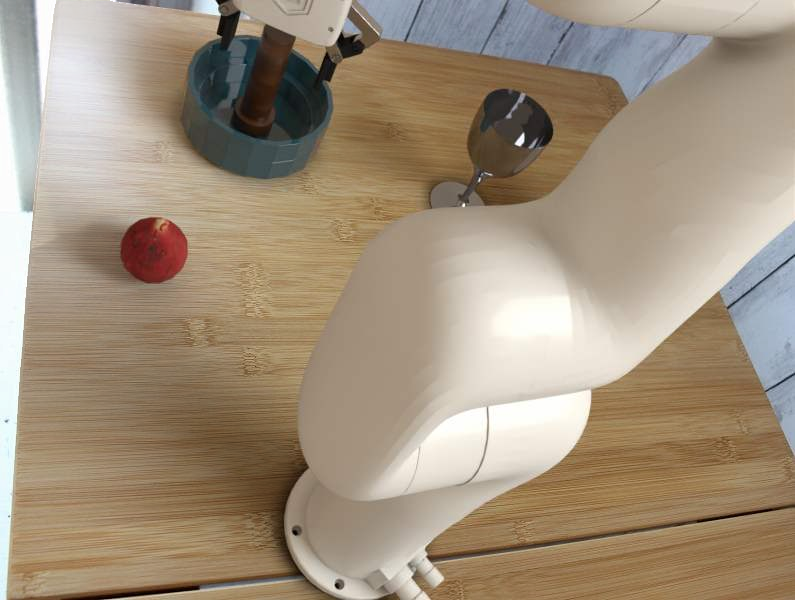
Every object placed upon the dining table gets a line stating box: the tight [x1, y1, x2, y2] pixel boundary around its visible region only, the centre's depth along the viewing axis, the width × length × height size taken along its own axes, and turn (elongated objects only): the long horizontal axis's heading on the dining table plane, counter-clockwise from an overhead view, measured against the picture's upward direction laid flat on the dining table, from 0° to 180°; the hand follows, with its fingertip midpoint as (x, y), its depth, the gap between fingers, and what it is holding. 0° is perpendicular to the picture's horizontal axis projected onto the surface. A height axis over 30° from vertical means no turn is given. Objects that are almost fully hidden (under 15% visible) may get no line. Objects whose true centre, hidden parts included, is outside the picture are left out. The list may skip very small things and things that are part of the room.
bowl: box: [179, 34, 334, 180], centre depth 89 cm, size 15×15×6 cm
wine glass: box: [429, 88, 554, 209], centre depth 90 cm, size 8×8×15 cm
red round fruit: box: [119, 216, 189, 284], centre depth 74 cm, size 6×6×8 cm
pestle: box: [231, 23, 297, 138], centre depth 86 cm, size 4×4×13 cm
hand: (273, 62), depth 82 cm, fingers open, 9 cm apart
